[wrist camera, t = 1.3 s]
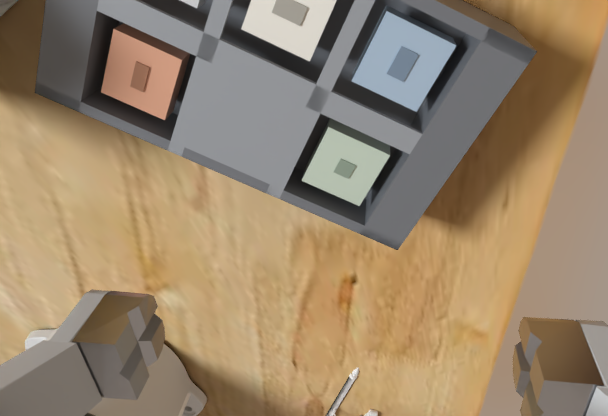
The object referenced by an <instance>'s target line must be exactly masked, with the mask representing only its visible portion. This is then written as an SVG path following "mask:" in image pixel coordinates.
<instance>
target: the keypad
mask: <svg viewBox="0 0 608 416" xmlns="http://www.w3.org/2000/svg"><path fill="white" fill-rule="evenodd" d="M250 2H251V0H206V2H205V3H204V4H203V5H201V6H200V7H198V8H195V7H193V6H191V5H189V4H187V3H184V2H182V1H180V0H46V2H45V11H44V19H43V28H42V36H41V45H40V53H39V62H38V70H37V79H36V87H35V93H36V94H39V95H41V96H43V97H46V98H48V99H50V100H53V101H55V102H57V103H59V104H62V105H64V106H66V107H69V108H71V109H73V110H76V111H78V112H80V113H83V114H85V115H87V116H89V117H92V118H94V119H96V120H99V121H101V122H103V123H106V124H108V125H110V126H112V127H115V128H117V129H119V130H122V131H124V132H126V133H129V134H131V135H133V136H136V137H138V138H140V139H142V140H145V141H147V142H149V143H152V144H154V145H156V146H159V147H161V148H163V149H165V150H168V151H170V152H172V153H175V154H177V155H179V156H182V157H184V158H186V159H189V160H191V161H193V162H195V163H198V164H200V165H202V166H205V167H207V168H209V169H212V170H214V171H216V172H218V173H221V174H223V175H225V176H228V177H230V178H232V179H235V180H237V181H239V182H242V183H244V184H246V185H248V186H251V187H253V188H255V189H258V190H260V191H262V192H265V193H267V194H269V195H271V196H274V197H276V198H278V199H281V200H283V201H285V202H288V203H290V204H292V205H295V206H297V207H299V208H301V209H304V210H306V211H308V212H311V213H313V214H315V215H318V216H320V217H322V218H324V219H327V220H329V221H331V222H334V223H336V224H338V225H341V226H343V227H345V228H348V229H350V230H352V231H354V232H357V233H359V234H361V235H364V236H366V237H368V238H371V239H373V240H375V241H377V242H380V243H382V244H384V245H387V246H389V247H391V248H394V249H396V250H398V249H399V247H400V246H401V244H402V243H403V242H404V240H405V239H406V237H407V236H408V235H409V233H410V232H411V230H412V229H413V227H414V226H415V225H416V223H417V222H418V220H419V219H420V217H421V216H422V215H423V213H424V212H425V210H426V209H427V207H428V206H429V205H430V203H431V202H432V200H433V199H434V198H435V196H436V195H437V193H438V192H439V190H440V189H441V188H442V186H443V185H444V183H445V182H446V180H447V179H448V178H449V176H450V175H451V173H452V172H453V171H454V169H455V168H456V166H457V165H458V163H459V162H460V161H461V159H462V158H463V156H464V155H465V153H466V152H467V151H468V149H469V148H470V146H471V145H472V143H473V142H474V141H475V139H476V138H477V136H478V135H479V134H480V132H481V131H482V129H483V128H484V126H485V125H486V124H487V122H488V121H489V119H490V118H491V116H492V115H493V114H494V112H495V111H496V109H497V108H498V107H499V105H500V104H501V102H502V101H503V99H504V98H505V97H506V95H507V94H508V92H509V91H510V89H511V88H512V87H513V85H514V84H515V82H516V81H517V79H518V78H519V77H520V75H521V74H522V72H523V71H524V70H525V68H526V67H527V65H528V64H529V62H530V61H531V60H532V58H533V57H534V55H535V54H536V52H537V51H536V50H535V49H534V48H533V47H532V45H531V44H530V43H529V42H528V41H527V40H526V39H525V38H524V37H523V36H522V35H521V34H520V33H519V32H518V30H517V29H516V28H515V27H514V26H512V25H510V24H508V23H506V22H504V21H502V20H500V19H498V18H496V17H494V16H492V15H490V14H488V13H486V12H484V11H482V10H481V9H479V8H477V7H475V6H473V5H471V4H469V3H467V2H465V1H463V0H337V1H336V3H335V5H334V8H333V10H332V12H331V14H330V17H329V19H328V21H327V24H326V26H325V28H324V30H323V33H322V35H321V37H320V39H319V42H318V44H317V46H316V48H315V51H314V53H313V55H312V58H311V60H310V61H307V60H305V59H303V58H301V57H299V56H297V55H295V54H293V53H290V52H288V51H286V50H284V49H282V48H280V47H278V46H276V45H274V44H271V43H269V42H267V41H265V40H263V39H261V38H259V37H257V36H254V35H252V34H250V33H248V32H246V31H244V30H242V29H241V28H242V25H243V22H244V19H245V16H246V14H247V11H248V8H249V5H250ZM386 5H387V6H389V7H391V8H393V9H395V10H397V11H399V12H401V13H403V14H405V15H408V16H410V17H412V18H414V19H416V20H418V21H420V22H422V23H424V24H426V25H428V26H430V27H432V28H434V29H436V30H438V31H440V32H442V33H444V34H446V35H448V36H450V37H452V38H453V39H454V41H455V43H456V45H457V46H456V47H455V49H454V51H453V52H452V54H451V56H450V57H449V59H448V60H447V62H446V64H445V65H444V67H443V69H442V70H441V72H440V74H439V75H438V77H437V79H436V80H435V82H434V84H433V85H432V87H431V89H430V90H429V92H428V94H427V95H426V97H425V99H424V100H423V102H422V104H421V105H420V107H419V109H418V110H417V112H416V111H413V110H411V109H409V108H407V107H405V106H403V105H401V104H399V103H396V102H394V101H392V100H390V99H388V98H386V97H384V96H382V95H380V94H377V93H375V92H373V91H371V90H369V89H367V88H365V87H363V86H360V85H358V84H356V83H354V82H352V74H353V71H354V69H355V67H356V65H357V63H358V61H359V59H360V57H361V55H362V53H363V51H364V49H365V47H366V45H367V43H368V41H369V39H370V37H371V35H372V33H373V31H374V29H375V27H376V25H377V23H378V21H379V19H380V17H381V15H382V13H383V11H384V9H385V7H386ZM123 23H125V24H127V25H129V26H131V27H134V28H136V29H138V30H140V31H142V32H144V33H147V34H149V35H151V36H153V37H155V38H157V39H160V40H162V41H164V42H166V43H168V44H170V45H173V46H175V47H177V48H179V49H181V50H184V51H186V52H188V53H190V56H189V60H188V63H187V67H186V70H185V73H184V77H183V80H182V84H181V87H180V90H179V94H178V97H177V100H176V104H175V107H174V111H173V112H172V113H171V114H170V115H169V116H168V117H167V118H166V120H163V119H160V118H158V117H156V116H154V115H151V114H149V113H147V112H145V111H142V110H140V109H138V108H135V107H133V106H131V105H129V104H126V103H124V102H122V101H120V100H117V99H115V98H113V97H111V96H108V95H106V94H104V93H101V89H102V84H103V79H104V74H105V69H106V64H107V59H108V54H109V49H110V44H111V39H112V34H113V29H114V28H116V27H118V26H120V25H121V24H123ZM330 118H331V119H334V120H336V121H338V122H340V123H342V124H344V125H347V126H349V127H351V128H353V129H355V130H358V131H360V132H362V133H364V134H366V135H368V136H371V137H373V138H375V139H377V140H379V141H381V142H384V143H386V144H388V145H390V157H389V158H388V160H387V162H386V163H385V165H384V166H383V168H382V170H381V171H380V173H379V175H378V176H377V178H376V180H375V181H374V183H373V185H372V186H371V188H370V190H369V191H368V193H367V195H366V196H365V198H364V200H363V201H362V203H361V205H360V206H358V205H356V204H353V203H351V202H349V201H346V200H344V199H342V198H340V197H337V196H335V195H333V194H331V193H328V192H326V191H324V190H321V189H319V188H317V187H315V186H312V185H310V184H308V183H306V182H303V181H302V177H303V173H304V170H305V168H306V166H307V164H308V162H309V159H310V157H311V155H312V153H313V151H314V149H315V147H316V145H317V143H318V141H319V139H320V137H321V135H322V133H323V131H324V129H325V127H326V125H327V123H328V121H329V119H330Z"/></svg>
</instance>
